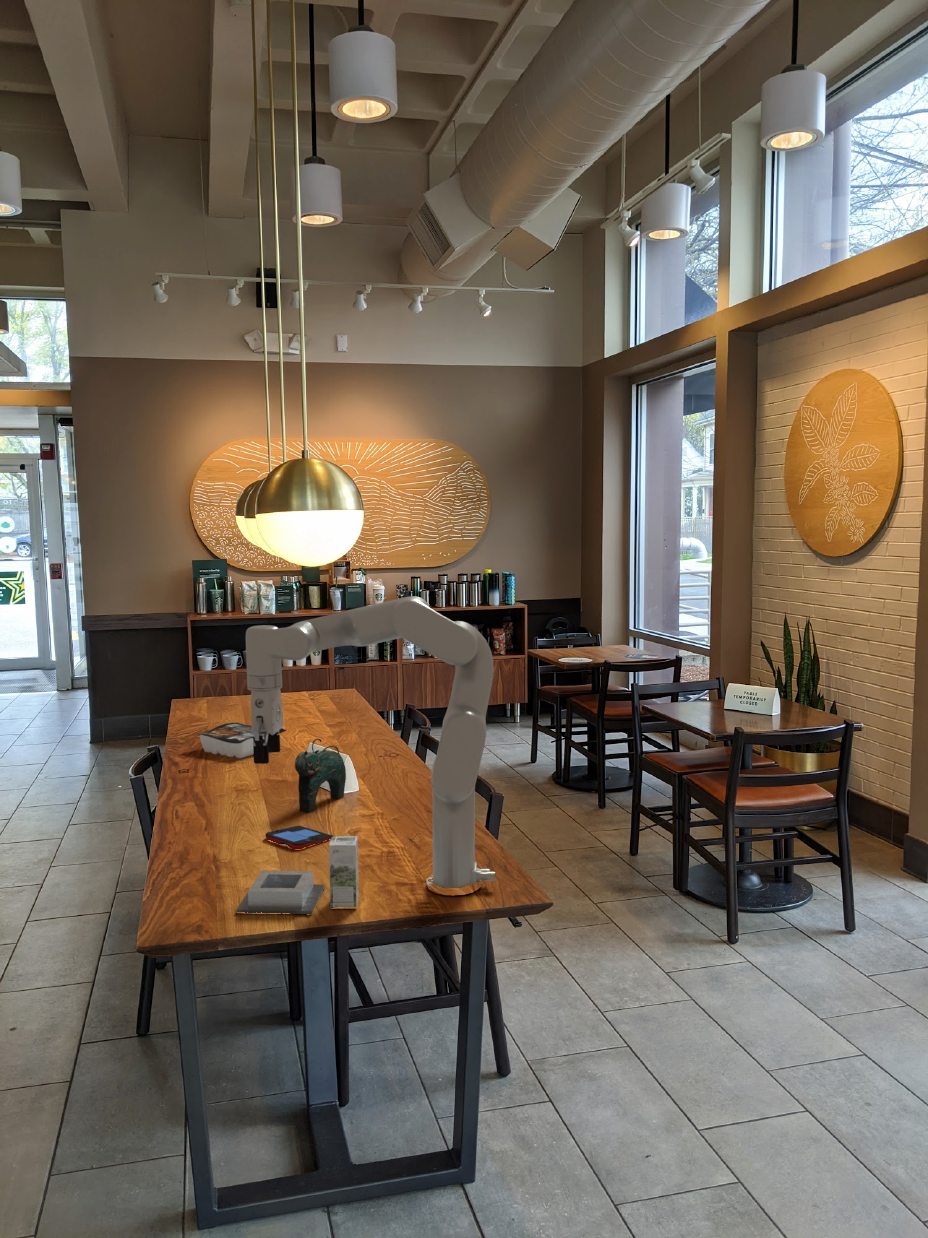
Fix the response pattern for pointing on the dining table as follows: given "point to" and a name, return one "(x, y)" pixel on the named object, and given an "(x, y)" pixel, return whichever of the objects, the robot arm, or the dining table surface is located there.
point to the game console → (297, 837)
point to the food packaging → (230, 740)
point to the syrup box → (343, 871)
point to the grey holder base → (282, 893)
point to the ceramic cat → (319, 775)
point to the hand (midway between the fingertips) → (267, 757)
